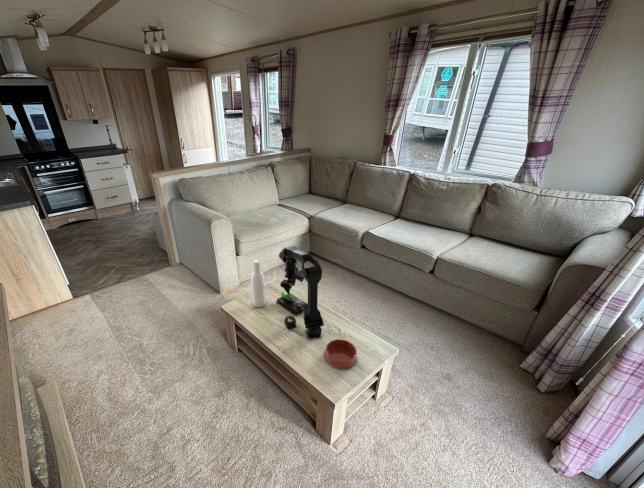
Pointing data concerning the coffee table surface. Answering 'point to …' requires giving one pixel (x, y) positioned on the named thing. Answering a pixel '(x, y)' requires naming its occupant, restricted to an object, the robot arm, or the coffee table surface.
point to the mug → (290, 322)
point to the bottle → (258, 285)
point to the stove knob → (298, 303)
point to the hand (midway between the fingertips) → (290, 289)
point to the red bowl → (341, 353)
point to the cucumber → (287, 296)
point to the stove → (291, 305)
